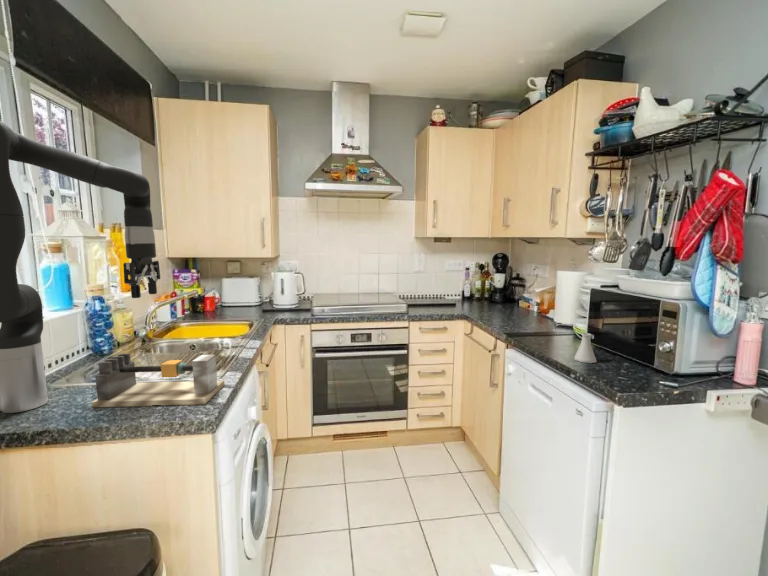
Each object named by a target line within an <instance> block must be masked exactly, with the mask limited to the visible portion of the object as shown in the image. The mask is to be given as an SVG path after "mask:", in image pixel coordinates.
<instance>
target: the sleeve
mask: <svg viewBox="0 0 768 576" xmlns="http://www.w3.org/2000/svg"><path fill="white" fill-rule="evenodd" d="M179 363H183V360H182V359H173V360H172V359H171V360H166V361H165V362H162V363H161V364H160V366H161V372H160V373H161V378H177V377H178V376H180V375H181V374H178V371H177V366H178V365H179Z"/></svg>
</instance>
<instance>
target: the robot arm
mask: <svg viewBox="0 0 768 576" xmlns="http://www.w3.org/2000/svg"><path fill="white" fill-rule="evenodd" d="M10 161H14V162H19V163H24V164H28V165H32V166H36V167H39V168H42V169H45V170H49V171H52V172H53V173H54V172H55V173H57V174H60V175H63V176H65V177H69V178H71V179H74V180H77V181H81V182H83V183H86V184H89V185H92V186H96V187H99V188H105V189H106V188H107V189H110V190H112V191H116V192H119V193H121V194H123V202H124V209H123V210H124V211H123V217H124V221H123V222H124V241H125V254H126V255H125V256H126V258H127V259H128V260H129V259H131V261H130V262H124V263H123V282H124V284H126V285H129V286H130V293H131V298H132V299H140V298H141V296H142V294H141V285H140V284H141V281H142V279H144V278H146V281H147V290H148V294H149V295H156V294H157V293H158V289H157V282H159V281H158V280H161V269H160V262H159V260H153V259H155V258H156V257H157V250H156V248H157V247H156V239H155V231H154V223H153V222H154V221H153V214H152V209H151V185H150V182H149V180H148V179H147V178H146V177H145V176H144V175H143V174H141V173H139V172H137V171H133V170H130V169H126V168H123V167H120V166H115V165H111V164H108V163H106V162H104V161H101V160H98V159H96V158H92V157H90V156H86V155H84V154H82V153H81V154H80V153H77V152H74V151H70V150H65V149H61V148H57V147H54V146H51V145H47V144H45V143H44V144H43V143H42V142H38V141H35V140H34V139H31V138H28V137H27V136H25V135H23V134H21V133H18V132H17V131H15V130H13V129H12V128H10V126H8V125H7V124H6V123H5V122H3V121H2V120H0V412H2V413H4V414H12V413H22V412H25V411H26V412H27V411H30V410H33V409H37V408H39V407H41V406H44V405H46V404H47V403H48V402H49V399H48V390H47V389H48V387H47V380H46V379H47V378H46V373H45V372H46V371H45V362H44V354H43V353H44V352H43V346H42V344H43V343H42V337H41V336H42V333H43V330H44V316H43V315H44V314H43V302H42V299H41V296H40V294H39V292H38V291H37V290H36V289H35V288H34V287H33V286H30V285H28V284H24V283H21V284H20V283H19V281H18V276H17V266H18V265H17V264H18V259H19V256H20V254H21V252H22V248H23V246H24V243H25V240H26V239H25V238H26V224H25V217H24V210H23V207H22V203H21V200H20V198H19V196H18V193H17V190H16V188H15V185H14V182H13V181H12V177H11V176H12V175H11V173H10V172H11V171H10V164H9V163H10Z"/></svg>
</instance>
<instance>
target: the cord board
mask: <svg viewBox="0 0 768 576" xmlns="http://www.w3.org/2000/svg"><path fill="white" fill-rule="evenodd" d="M216 358H217V357H216V354H201V355H199V356H198V357H196V358H195V359H193V360H192V361H191V363H192V364H191V365H189V364H187V363H186V362H182V363H179V365H178V366H177V371H178V374H180V375H184V374H185V373H186V372H192V376H193V380H191V381H154V382H151V381H150V382H137V380H136V379H137V377H136V373H161V365H154V366H153V365H151V366H150V365H149V366H145V365H144V366H143V365H142V366H136V365H135V361H131V353H118V354H117V355H115V356H112V357H111V358H107V359H105V361H100V362H98V372H99V373H98V374H95V375H94V377H95V384H96V385H95V386H96V395H97V396H96V397H97V398H96V399H94V400H92V401H91V407H92V408H112V407H113V408H116V407H117V408H118V407H119V408H120V407H151V406H152V405H161V406H187V405H188V406H192V405H195V406H196V405H198V406H199V405H206V404H207V403H208V402H209V401H210V400H211V399H212V398H213V397H214V396H215V395H216V394H217V393H218V392H219V391H221V390H222V388H224V386H225V380H218V374H217V361H216V360H217V359H216ZM152 407H153V406H152Z"/></svg>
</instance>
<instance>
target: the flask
mask: <svg viewBox="0 0 768 576" xmlns="http://www.w3.org/2000/svg"><path fill="white" fill-rule="evenodd" d="M581 336H582V337H581V342H580V344H579V347H578V349H577V350H576V353H575V355H574V357H573V359H574V360H575V361H576V362H580V363H583V364H585V363H587V364H592V363H597V359H596V356H595V352H594V351H593V346H592V342H591V337H592V336H593V335H592V333H589V332H588V333H587V332H583V333H581Z"/></svg>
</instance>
